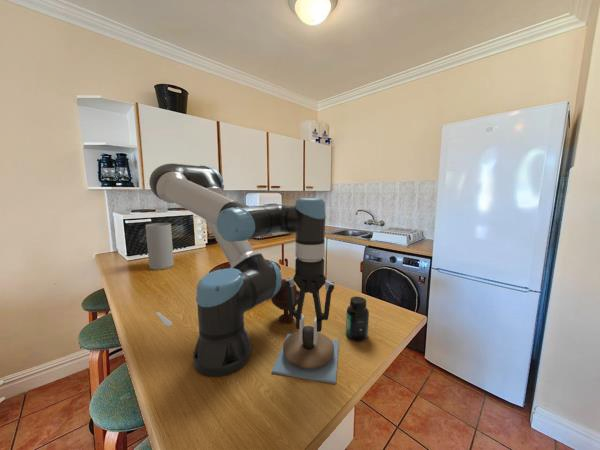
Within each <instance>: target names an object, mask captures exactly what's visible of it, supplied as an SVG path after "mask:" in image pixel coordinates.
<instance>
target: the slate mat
mask: <svg viewBox="0 0 600 450" xmlns="http://www.w3.org/2000/svg"><path fill="white" fill-rule="evenodd" d="M292 334H293V333H287V334H286V337H285V339H284V340H283V341H284V342H285V340H286V339H287V338H288V337H289V336H290V335H292ZM329 339H330V340H331V341H332V342H333V345H334V356H333V358H332V360H331V361H330V362H329V363H327V364H326V365H324V366H322V367H319V368H312V369H307V368H301V367H298V366H295V365H293V364H291V363H290V362H289V361H288V360H287V359H286V358H285V356H284V353H283V345H282V347H281V348H280V351H279V353H278V355H277V358H276V360H275V362H274V364H273V367H272V368H271V374H276V375H281V376H288V377H293V378H300V379H305V380H309V381H315V382H323V383H327V384H333V385H336V384H337V383H336V382H337V372H338V371H337V370H338V358H339V345H340V340H337V339H331V338H329ZM284 342H283V343H284Z"/></svg>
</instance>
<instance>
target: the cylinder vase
mask: <svg viewBox="0 0 600 450" xmlns="http://www.w3.org/2000/svg"><path fill="white" fill-rule="evenodd" d="M145 234H146V235H145V236H146V244H147V245H146V246H147V247H146V248H147V255H148V267H149V269H150V270H155V271H157V270H166V269H170V268H171V267H173V266H174V265H175V261H174V248H173V234H172V223H171V222H170V223H169V222H156V223H147V224H145Z"/></svg>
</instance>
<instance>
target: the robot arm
mask: <svg viewBox="0 0 600 450" xmlns="http://www.w3.org/2000/svg"><path fill="white" fill-rule="evenodd" d="M148 184H149V188H150V190H151V192H152V194H154V196H156V197H157V198H159V199H160V200H162V201H163V202H166V203H168V204H176V205H177V206H179V207H181V208H183V209H185V210H187V211H189V212H190V213H192V214H194V215H197V216H199V217H200V218H202V219H203V220H204V221H205V223H206V224H207V226H208V227H209V229H210V231H211V233H212V235H213V236H214V239H215V240H216V242H217V244H218V246H219V247H220V249H221V250H222V253H223V254H224V257H225V258H226V259H227V261H228V263H229V264H230V267H228V268H223V269H216V270H214V271H211V272H209V273H207V274H205V275H204V276H202V277H201V278H200V280H199V281H198V283H197V285H196V297H195V300H196V303H197V305H196V306H197V319H198V320H197V321H198V332H199V333H198V336H197V337H198V338H197V340H196V344H195V347H194V350H193V356H192V357H193V367H194V369H195V371H197V372H198V373H199V374H200V375H203V376H206V377H216V378H217V377H223V376H227V375H229V374H232V373H235V372H237V371H238V370H240V369H242V368H243V367H244V366H245V365H247V363H248V361H249V360H250V358H251V356H252V343H251V340H250V337H249V335H248V333H247V332H248V331H247V330H246V328H245V313H246V312H248V311H249V310H251V309H253V308H255V307H257V306H258V305H259V306H260V304H262V303H264V302H266V301H269V300H271V298H272V297H273V296H274V295H276V294H277V293H278V291H279V290H280V288H281V282H282V279H283V278H282V272H281V270H280V267H279V266H278V265H277V263H275V262H274V261H272V260H268V259H267V260H266V259H265V257H264V255H263V254H262V253H261V252H257V251H255V250H254V248H253V246H251V243H250V242H249V239H254V238H258V237H262V236H267V235H273V234H275V233H287V234H288V233H289V234H295V247H294V248H295V252H294V253H295V257H296V258H295V259H294V260H295V265H294V266H295V267H294V268H295V270H294V271H295V273H294V275H293V277H287V278H286V281H285V283H284V284H285V286H286V289H287V295H288V307H289V311H288V314H289V315H290V316H293V318H295V329H296V330H299V331H298V332H299V342H301V343H302V341H303V328H304V327H305V315H304V314H303V307H304V302H305V296H306V294H307V293H309V294H311V295H312V298H313V305H314V311H315V316H314V321H313V327H314V342H313V344H315V345H316V343H317V339H318V332H319V333H321V332H322V328H323V321H328V320H329V316H330V306H331V299H332V298H331V297H332V293H333V291H334V289H335V281H328V280H327V278H326V276H325V259H324V257H325V249H326V248H325V247H326V245H325V244H326V242H325V239H326V238H325V235H326V234H325V233H326V218H327V215H326V202H325V200H324V199H323V198H319V197H318V198H317V197H312V198H311V197H300V198H296V200H295V204H294V205H293V204H280V203H279V204H278V203H265V204H262V205H253V206H248V205H245V204H242V203H241V202H238V201H235V200H233V199H231V198H229V197H227V196H224V188H225V185H224V179H223V176H222V175H221V174H220V172H219V171H218V170H217V169H216V168H215V167H211V166H206V165H191V164H183V163H179V164H178V163H164V164H162V165H159V166H158V167H156V168H155V169H154V170H153V171H152V172H151V174H150V176H149V183H148ZM294 284H295V285H296V287H297V288H298V289H299V291H300V293H299V300H298V304H297V305H296V306H297V307H296V306H295V299H294V287H293V286H294ZM323 286H325V287H324V289H325V291H326V293H325V299H324V301H325V302H324V309H323V312H322V304H321V303H322V302H321V297H320V290H321V289H322V287H323Z"/></svg>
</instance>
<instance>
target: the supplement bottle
mask: <svg viewBox="0 0 600 450" xmlns="http://www.w3.org/2000/svg"><path fill="white" fill-rule="evenodd" d="M345 318H346V319H345V335H346V336H347V337H348V339H350V340H352V341H354V342H364V341H365V340H366V339H367V338H368V334H369V319H370V311H369V309H368V307H367V299H365V298H364V297H362V296H352V297H351V298H350V300H349V306H347V308H346V317H345Z"/></svg>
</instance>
